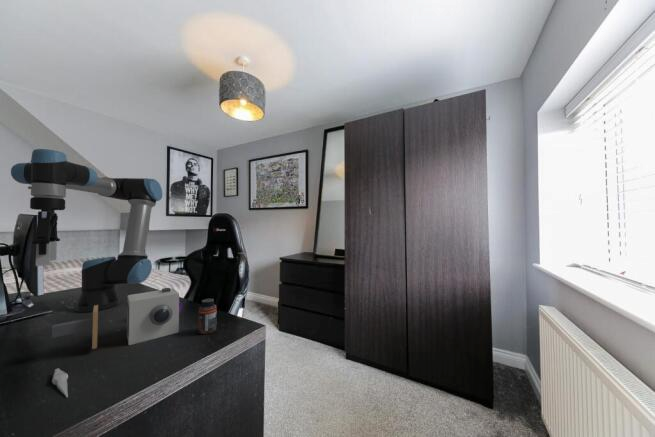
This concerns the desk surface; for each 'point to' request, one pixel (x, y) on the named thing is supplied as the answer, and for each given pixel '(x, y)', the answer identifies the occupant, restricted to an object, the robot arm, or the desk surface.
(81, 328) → the door
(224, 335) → the desk surface
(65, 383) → the grey tapered wedge
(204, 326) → the supplement bottle
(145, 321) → the camera body
